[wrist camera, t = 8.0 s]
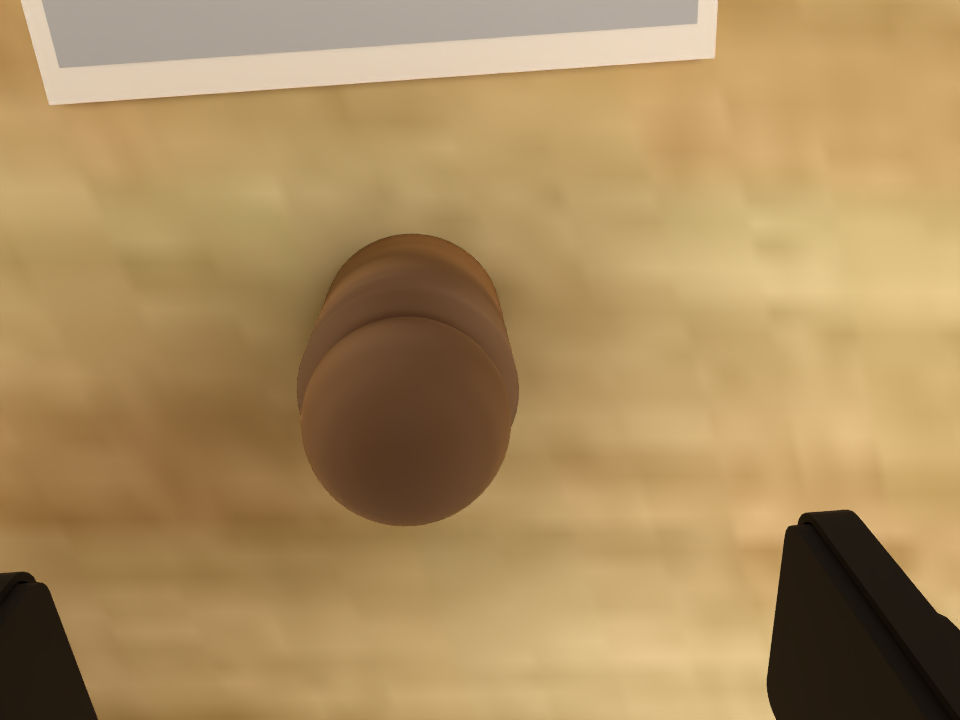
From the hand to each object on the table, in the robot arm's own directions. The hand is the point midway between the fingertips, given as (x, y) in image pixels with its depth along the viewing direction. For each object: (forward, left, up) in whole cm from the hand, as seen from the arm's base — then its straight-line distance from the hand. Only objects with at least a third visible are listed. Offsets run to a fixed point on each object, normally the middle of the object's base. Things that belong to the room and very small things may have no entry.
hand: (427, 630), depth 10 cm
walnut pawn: (-1, 0, -13) cm, 13 cm away
